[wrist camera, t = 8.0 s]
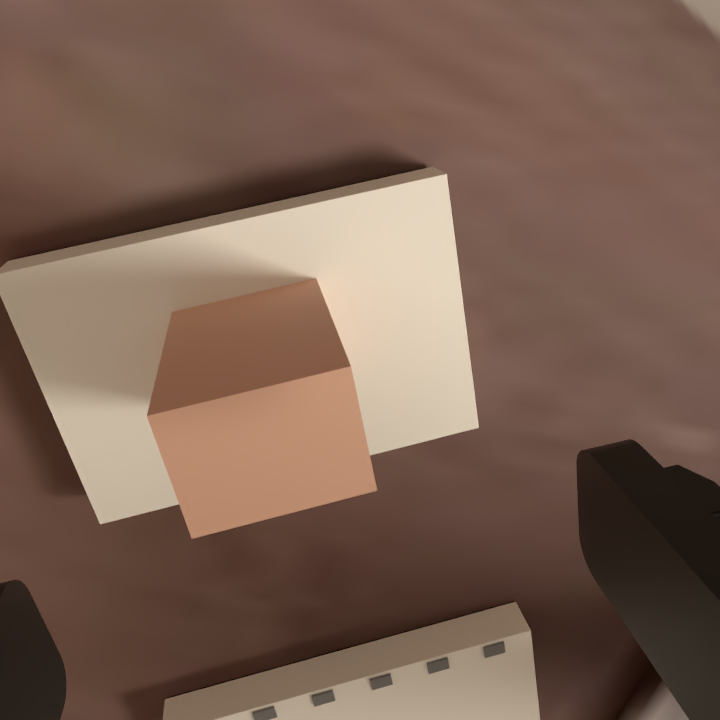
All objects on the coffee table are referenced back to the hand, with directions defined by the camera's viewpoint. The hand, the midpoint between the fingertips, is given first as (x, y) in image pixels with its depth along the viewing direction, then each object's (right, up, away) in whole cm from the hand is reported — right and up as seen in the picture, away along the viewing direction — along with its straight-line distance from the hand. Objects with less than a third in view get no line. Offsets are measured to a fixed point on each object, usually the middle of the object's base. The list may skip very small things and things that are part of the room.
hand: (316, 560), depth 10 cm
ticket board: (+1, -13, +19) cm, 23 cm away
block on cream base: (-2, +3, +11) cm, 12 cm away
